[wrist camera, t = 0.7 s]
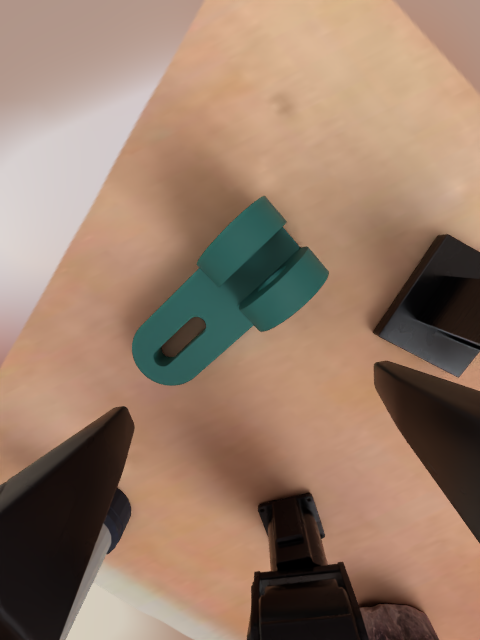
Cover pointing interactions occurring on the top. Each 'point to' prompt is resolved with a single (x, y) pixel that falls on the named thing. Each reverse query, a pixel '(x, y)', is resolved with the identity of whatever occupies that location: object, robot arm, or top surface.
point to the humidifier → (101, 550)
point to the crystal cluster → (397, 623)
